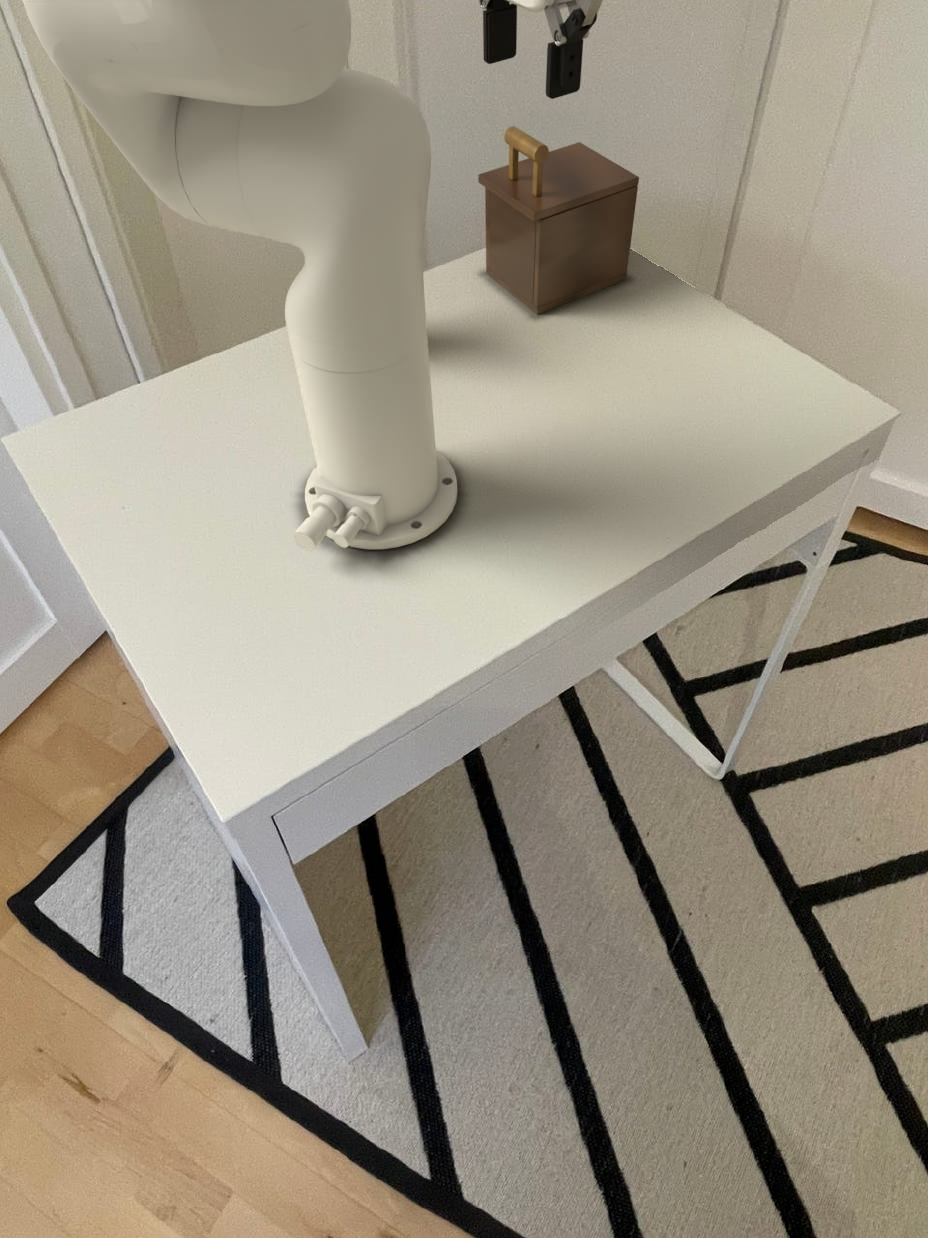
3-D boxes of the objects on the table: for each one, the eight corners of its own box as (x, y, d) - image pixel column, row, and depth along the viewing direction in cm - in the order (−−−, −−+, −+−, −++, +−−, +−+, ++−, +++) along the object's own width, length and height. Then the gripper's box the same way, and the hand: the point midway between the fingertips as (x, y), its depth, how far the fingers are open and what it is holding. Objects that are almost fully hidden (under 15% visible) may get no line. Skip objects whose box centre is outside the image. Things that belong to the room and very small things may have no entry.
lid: (533, 221, 79) (536, 161, 75) (478, 182, 84) (477, 123, 80) (638, 185, 83) (646, 125, 79) (578, 149, 88) (583, 91, 84)
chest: (537, 314, 87) (540, 220, 80) (485, 273, 92) (484, 181, 85) (626, 279, 91) (638, 185, 83) (572, 241, 96) (579, 150, 88)
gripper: (430, -202, 65) (442, 56, 78) (567, -166, 55) (553, 121, 69) (513, -215, 67) (510, 38, 80) (657, -182, 58) (626, 98, 71)
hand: (530, 75), depth 75 cm, fingers open, 9 cm apart
